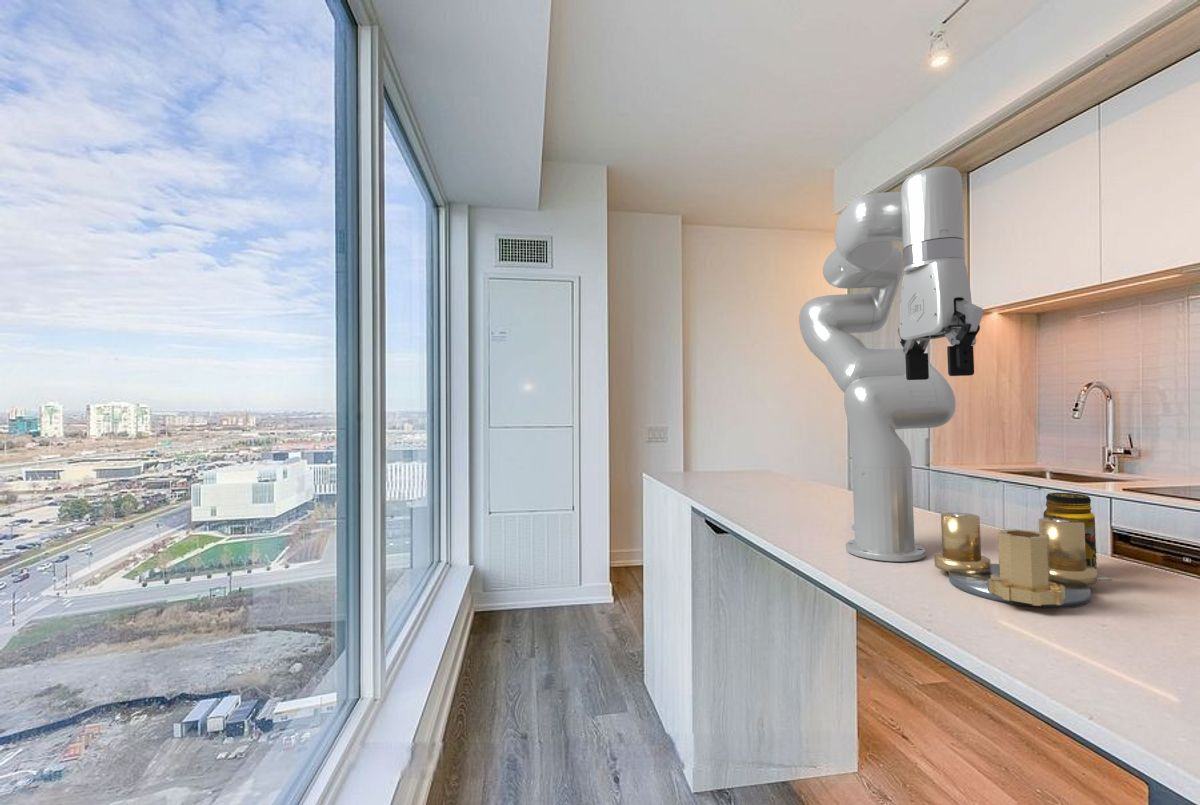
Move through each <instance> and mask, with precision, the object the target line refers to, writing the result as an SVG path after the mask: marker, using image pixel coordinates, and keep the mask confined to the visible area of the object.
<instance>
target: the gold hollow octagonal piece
mask: <svg viewBox="0 0 1200 805" xmlns="http://www.w3.org/2000/svg"><path fill="white" fill-rule="evenodd" d="M997 533H998V563H999V562H1000V575H996V574H993V575H991V579H987V581H988V592H989V593H994V594H996V595H998V596H1000V597H1003V599H1004V600H1008V601H1011V600H1012V601H1017V602H1023V603H1028V604H1032V605H1036V606H1041V605H1047V604H1057V605H1063V599H1065V586H1063V585H1060V584H1056V583H1053V582H1051V581H1050V558H1049V535H1046V534H1043V533H1039V531H1037V530H1036V531H1033V530H1025V529H1018V528H1017V529H1001V530H1000V531H998V532H997Z"/></svg>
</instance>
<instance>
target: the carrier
mask: <svg viewBox="0 0 1200 805" xmlns="http://www.w3.org/2000/svg"><path fill="white" fill-rule="evenodd" d="M940 527H941V551H939V552H935V553H934V554H933V555H934V556H933V557H934V567H935V568H937V569H939V570H941V571H945V572H948V582H949V583H950V584H951V585H952V586H953V587H955V588H957V589H958V590H960V591H963V592H964V593H967V594H969V595H972V596H976V597H979V598H983V599H987V600H991V601H993V602H1000V603H1005V604H1010V605H1011V604H1012V605H1015V606H1016V605H1017V606H1024V607H1032V608H1045V609H1046V608H1047V609H1067V608H1069V607H1070V608H1076V607H1077V606H1078V607H1081V605H1083V606H1085V605H1088V604H1089V603H1090V602H1091V600H1092V599H1091V588H1090V586H1093V585H1096V584H1098V580H1097V573H1098V569H1097V570H1096V569H1095V568H1093V567H1091V566H1088V565H1086V552H1085V529H1084V523H1083V522H1081V521H1077V520H1071V519H1062V518H1044V517H1042V518H1038V532H1039V533H1043V534H1046V535H1049V558H1050V581H1051V582H1053V583H1056V584H1060V585H1063V586H1065V599H1063V605H1057V604H1047V605H1041V606H1036V605H1032V604H1028V603H1023V602H1017V601H1012V600H1011V601H1008V600H1004V599H1003V597H1000V596H998V595H996V594H994V593H989V592H988V581H987V579H991V575H993V574H996V575H1000V562H999V561H998V563H991V559H990V558H989V557H986V556H984V555H982V544H981V543H982V542H981V540H982V539H981V538H982V537H981V517H980V516H979V515H976V514H974V513H973V514H972V513H968V512H967V513H966V512H942V513H941V514H940ZM1088 602H1089V603H1088ZM1087 603H1088V604H1087ZM1078 607H1077V608H1078ZM1070 608H1069V609H1070Z"/></svg>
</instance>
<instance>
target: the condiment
mask: <svg viewBox="0 0 1200 805" xmlns="http://www.w3.org/2000/svg"><path fill="white" fill-rule="evenodd" d="M1045 498H1046V502H1045V506H1046V509H1045V510H1044V511H1043V514H1042V515H1043V518H1062V519H1071V520H1077V521H1081V522H1083V523H1084V529H1085V552H1086V565H1088V566H1091V567H1093V568H1095V569H1096V570H1097V571H1098V567H1097V565H1098V564H1097V562H1098V561H1097V546H1096V543H1097V542H1096V521H1095V520H1096V518H1095V515H1094V513H1093V512H1092V511H1091V510H1092V509H1093V508H1092V507H1091V506H1092V505H1091V504H1092V502H1091V501H1092V499H1091V497H1090V496H1088V495H1086V494H1082V493H1081V494H1080V493H1071V492H1049V493H1047V494H1046V496H1045ZM1098 580H1104V581H1106V580H1108V581H1109V580H1112V578H1111V577H1108V576H1106V575H1102V574H1100V573H1098V572H1097V581H1098Z"/></svg>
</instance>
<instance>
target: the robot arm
mask: <svg viewBox="0 0 1200 805" xmlns="http://www.w3.org/2000/svg"><path fill="white" fill-rule="evenodd" d="M962 179H963V178H962V175H961V173H960V170H958V169H957V168H956V167H952V166H949V165H948V166H947V165H946V166H944V165H943V166H933V167H929V168H928V167H927V168H925V169H921V170H918V171H916V172H915V173H913V174H911V175H909V176H908V177H907V178H906V179H904V181H903V182H902V184H901V188H900V191H891V192H889V191H888V192H886V191H885V192H874V193H866V194H862V195H860V196H858V197H856V198H855V199H853V200H852V201H851V202H850V203H849V204H848V205H847V206H846V207H845V209H844V210H842V212H841V213H840V215H839V217H838V219H837V223H836V227H835V233H834V242H835V246H836V248H835V249H834V250H832V252H831V253H830V254H829V255H828V256H827V258H826V259H825V261H824V264H823V266H822V274H823V278H824V279H825V281H826V282H827V283H828V284H829V285H831V286H833V287H835V288H838V289H845V290H846V289H862V288H863V289H866V288H867V289H868V288H870V289H869V292H867V293H849V294H848V293H847V294H845V293H844V294H829V295H821V296H818V297H815V298H812V299H810V300H808V301H807V302H805V303H804V304H803V305H802V307H801V309H800V311H799V316H798V323H799V329H800V334H801V336H802V339H803V341H804V343H805V345H806V347H807V348H808V350H809V351H810V352H811V353H812V354H813V355H814V357H815V358H817V359H818V360H819V361H820V362H821V363H822V364H823V365H824V366H825V368H826V369H827V371H828V372H829V374H830V376H831V377H832V379H833V380H834V382H835V383H836V385H837V387H838V388H839V389H840V390H841V392H843V393H844V395H843V404H844V411H845V415H846V421H847V424H848V425H847V426H848V430H849V436H850V448H851V449H850V450H851V469H852V470H851V472H852V494H853V495H852V497H853V498H852V499H853V502H852V503H853V524H852V525H851V530H853V532H854V539H851V540H849V541H847V542H846V543H845V550H846V551H847V552H848V553H850V554H851V555H853V556H857V557H860V558H862V559H863V558H864V559H868V560H874V561H883V562H896V563H897V562H913V561H919V560H922V559H924V558H925V557H926V549H925V548H924V547H923V546H921V545H919V544H916V543H915V521H914V520H915V518H914V496H913V495H914V492H913V491H914V490H913V487H914V486H913V466H912V454H911V452H910V449H909V448H908V446H907V445H906V443H905V442H904V441H903V440H902V438H901V437H900V436H899V434H898V433H897V432H896V431H897V430H902V429H904V430H906V429H907V430H908V429H912V430H913V429H932V428H938V427H942V426H944V425H946V424H947V423H949V422H950V421H951V419H952V418H953V417H954V415H955V413H956V407H957V402H956V396H955V394H954V391H953V389H952V386H951V385H950V384H949V382H948V381H947V379H946V378H945V377H944V376H943V375H942V374H941V373H940V372H939V370H937V369H936V367H935V366H933V365H932V364H931V363H930V362H929V353H928V352H926V350H927V348H928V345H929V343H930V341H931V340H938V339H942V338H946V340H947V341H948V342H949V344H950V345H948V346H947V347H946V348H947V349H946V354H947V356H946V358H947V374H948V376H949V377H964V376H973V375H975V360H974V358H975V357H974V346H975V345H976V343H977V338H976V336H977V335H978V333H979V331H980V329H981V322H982V321H981V320H982V317H983V314H984V309H983V307H980V306H978V305H977V304H973V302H972V293H971V292H972V291H971V285H970V278H969V273H968V269H967V265H966V251H965V249H966V246H965V228H964V226H965V225H964V202H963V201H964V200H963V199H964V198H963V180H962ZM894 242H902V247H903V248H902V251H903V252H902V251H900V249H899V248H898V247H897V246H895V245H893V243H894ZM902 275H903V276H902ZM901 279H902V281H901ZM900 282H901V287H900V298H899V299H900V300H899V327H898V329H897V332H898V333H897V334H898V336H899V338H900V340H899V342H900V345H901V346H902V348H900V347H899V348H898V347H897V348H869V347H867V346H866V345H865V344H864V342H862V341H861V339H859V338H858V337H857V336H855V335H853V334H861V333H862V334H863V333H864V334H865V333H873V332H877V331H879V330H880V329H882V328H883V326H885V325H886V322H887V320H888V318H889V315H890V312H891V309H892V306H893V303H894V299H895V297H896V294H897V291H898V288H899V285H900ZM918 342H919V343H918Z"/></svg>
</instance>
